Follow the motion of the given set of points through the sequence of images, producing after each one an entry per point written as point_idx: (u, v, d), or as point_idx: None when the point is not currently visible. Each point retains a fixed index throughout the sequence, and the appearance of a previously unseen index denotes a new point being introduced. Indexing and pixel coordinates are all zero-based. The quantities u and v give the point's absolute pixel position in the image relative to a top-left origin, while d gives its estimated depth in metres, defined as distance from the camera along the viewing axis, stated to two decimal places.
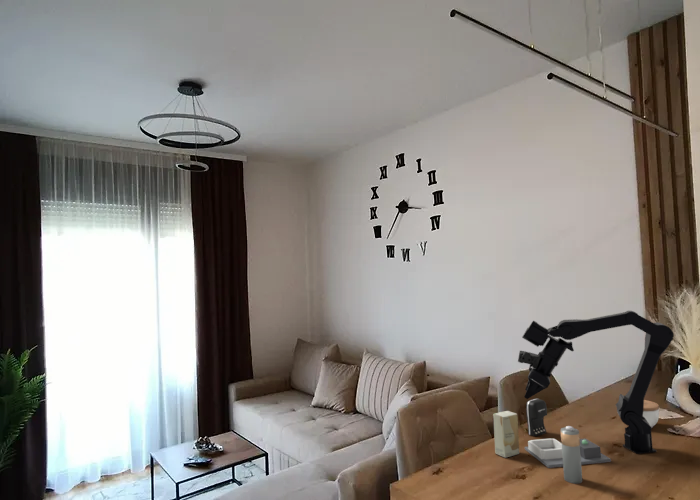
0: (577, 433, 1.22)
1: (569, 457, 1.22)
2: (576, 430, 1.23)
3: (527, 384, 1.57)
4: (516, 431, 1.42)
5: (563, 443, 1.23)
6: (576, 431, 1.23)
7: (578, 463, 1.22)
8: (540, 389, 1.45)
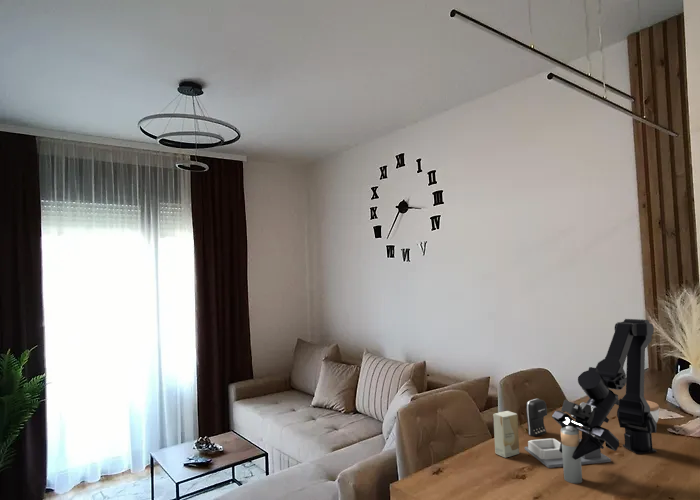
0: (577, 433, 1.22)
1: (569, 457, 1.22)
2: (576, 430, 1.23)
3: None
4: (516, 431, 1.42)
5: (563, 443, 1.23)
6: (576, 431, 1.23)
7: (578, 463, 1.22)
8: (594, 448, 1.21)
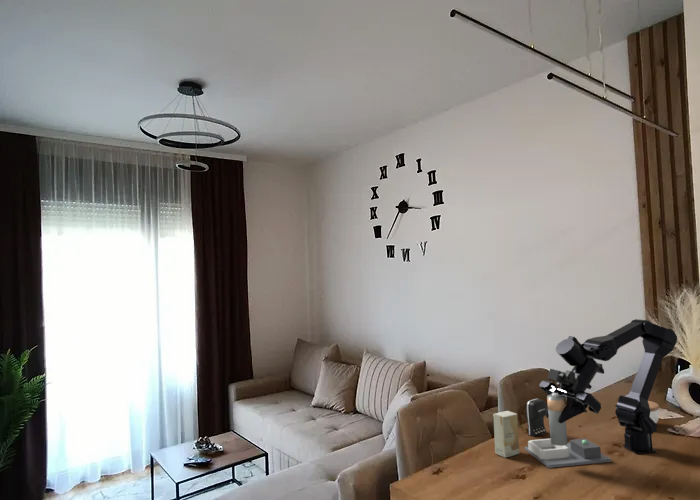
0: (562, 399, 1.31)
1: (555, 421, 1.30)
2: (561, 396, 1.32)
3: None
4: (516, 431, 1.42)
5: (549, 409, 1.32)
6: (561, 397, 1.31)
7: (563, 427, 1.30)
8: (578, 412, 1.29)
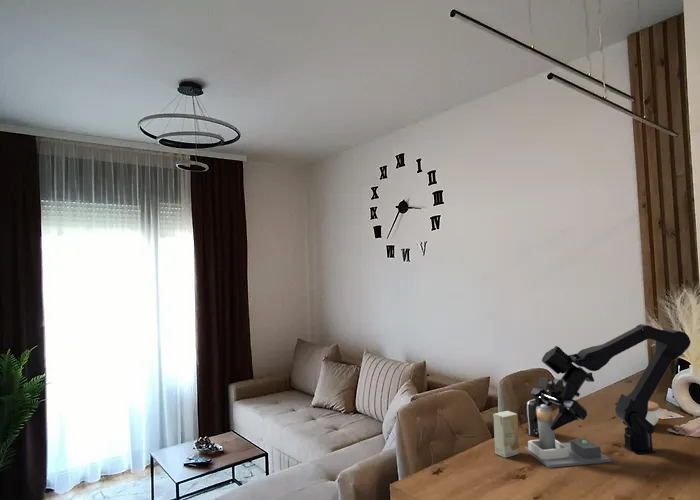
0: (550, 410, 1.38)
1: (544, 431, 1.38)
2: (550, 407, 1.40)
3: (536, 414, 1.43)
4: (516, 431, 1.42)
5: (538, 419, 1.39)
6: (549, 408, 1.39)
7: (552, 436, 1.38)
8: (570, 420, 1.35)
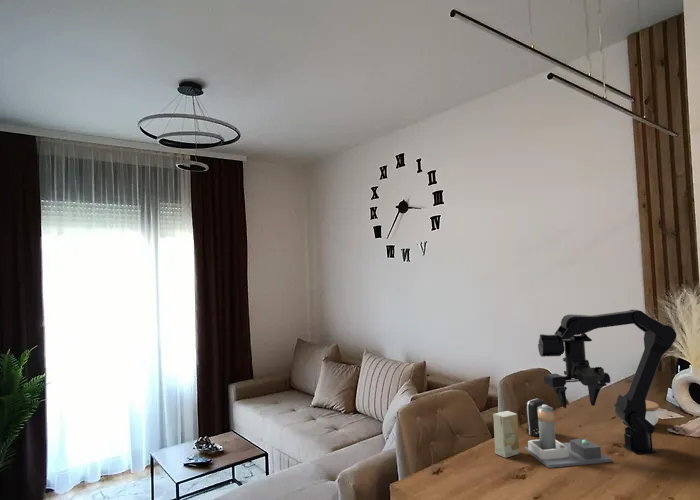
0: (551, 410, 1.38)
1: (544, 431, 1.38)
2: (551, 408, 1.40)
3: None
4: (516, 431, 1.42)
5: (539, 419, 1.39)
6: (551, 409, 1.39)
7: (552, 437, 1.38)
8: None
